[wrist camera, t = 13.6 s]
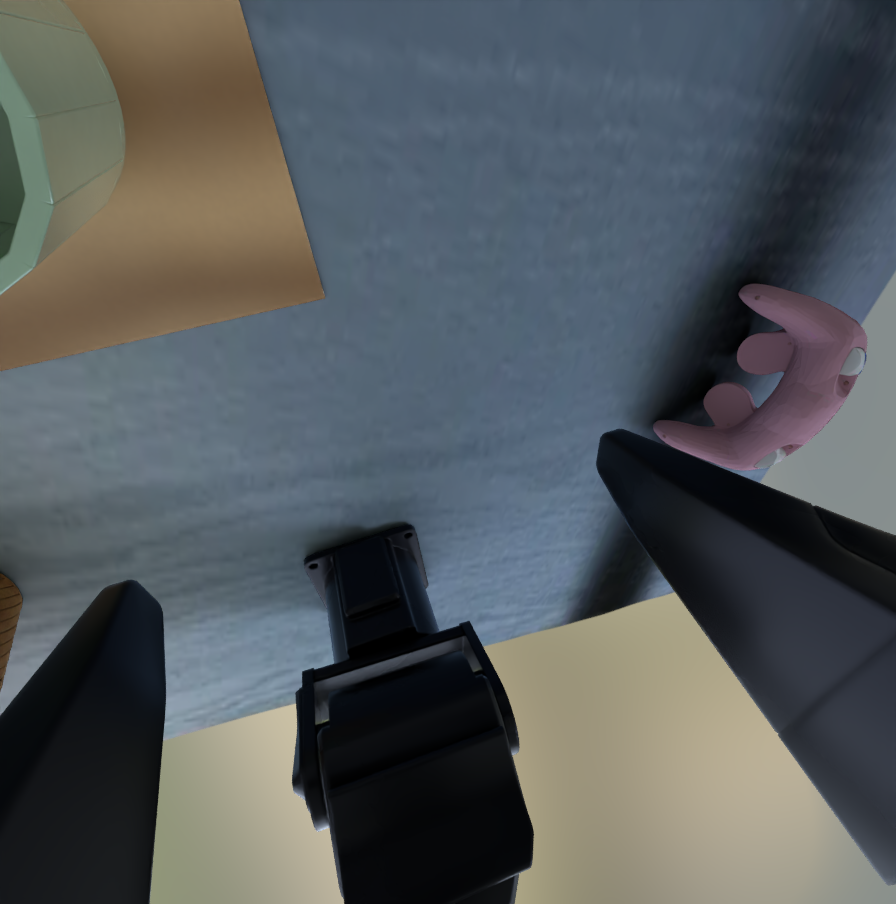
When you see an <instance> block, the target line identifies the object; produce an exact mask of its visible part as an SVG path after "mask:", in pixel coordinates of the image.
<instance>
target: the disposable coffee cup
mask: <svg viewBox="0 0 896 904" xmlns="http://www.w3.org/2000/svg"><path fill="white" fill-rule="evenodd" d="M22 601H23V598H22V596H21V594H20V591H19V589H18V588H17V587H16V586H15V584H14V583H13V582H12V581H11V580H10V579H8V578H7V577H6V576H4V575H3V574H1V573H0V690H1V688H2V685H3V679H4V675H5V672H6V667H7V662H8V660H9V655H10V650H11V647H12V643H13V638H14V634H15V631H16V627H17V622H18V619H19V615H20V611H21V608H22Z"/></svg>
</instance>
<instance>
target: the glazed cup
mask: <svg viewBox="0 0 896 904" xmlns="http://www.w3.org/2000/svg"><path fill="white" fill-rule="evenodd" d="M125 149H126V144H125V127H124V121H123V115H122V110H121V106H120V103H119V100H118V96H117V93H116V89H115V87H114V84H113V82H112V80H111V77H110V75H109V72H108V70H107V67H106V66H105V64H104V62H103V60H102V58H101V56H100V54H99V52H98V50H97V48H96V46H95V45H94V43H93V42H92V40H91V38H90V37H89V35H88V34H87V32H86V31H85V29H84V27H83V26H82V24H81V23H80V21H79V20H78V19H77V18H76V16H75V15H74V14H73V12H72V11H71V10H70V8H69V7H68V6H67V4H66V3H65V2H64V0H0V295H1V294H3V293H4V292H5V291H7V290H8V289H9V288H10V287H12V286H13V285H14V284H15V283H17V282H18V281H19V280H21V279H22V278H23V277H24V276H26V275H27V274H28V273H30V272H31V271H32V270H33V269H34V268H36V267H37V266H38V265H39V264H40V263H41V262H42V261H43V260H45V259H46V258H47V257H48V256H49V255H50V254H51V253H52V252H54V251H55V250H56V249H57V248H58V247H59V246H60V245H61V244H63V243H64V242H65V241H66V240H67V239H68V238H69V237H70V236H72V235H73V234H74V233H75V232H76V231H77V230H78V229H79V228H81V227H82V226H83V225H84V224H85V223H86V222H87V221H88V220H90V219H91V218H92V217H93V216H94V215H95V214H96V213H98V212H99V211H100V210H101V209H102V208H103V207H104V206H105V205H106V204H107V203H108V201H109V198H110V196H111V195H112V193H113V192H114V190H115V188H116V186H117V184H118V182H119V180H120V176H121V173H122V169H123V165H124V158H125Z"/></svg>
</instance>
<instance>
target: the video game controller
mask: <svg viewBox="0 0 896 904" xmlns="http://www.w3.org/2000/svg"><path fill="white" fill-rule="evenodd" d="M739 297H740V298H741V299H742V300H743V302H744V303H745V304H746V305H748V306H749V307H750V308H751V309H753V310H754V311H755V312H757V313H758V314H760V315H762V316H764V317H766V318H768V319H770V320H771V321H773V322H775V323H777V324H779V325H781V326H782V327H783V328H784V329H782V330H779V331H776V332H762V333H757V334H754V335H752V336H750V337H748V338H747V339H745V340H744V341H743V342H742V344H741V345H740V347H739V349H738V352H737V361H738V364H739V365H740V367H741V368H742V369H743V370H745V371H747V372H748V373H752V374H758V375H766V374H772V373H776V372H779V371H783V372H784V375H783V377H782V379H781V380H780V382H779V384H778V386H777V387H776V388H775V390H774V391H773V392H772V394H771V395H770V396H769V397H768V399H767V400H766V401H765V402H764V403H763V404H762V405H761V406H760V407H759V408H757V407H756V406H755V405H754V402H753V399H752V396H751V394H750V393H749V391H748V390H747V389H746V388H745V387H743V386H742V385H740V384H737V383H734V382H724V383H720V384H718V385H716V386H714V387H713V388H711V389H710V390H709V391H708V392H707V394H706V396H705V398H704V407H705V409H706V411H707V413H708V414H709V416H710V417H711V418H712V420H713V422H714V424H715V425H714V426H711V427H699V426H695V425H691V424H687V423H683V422H679V421H671V420H661V421H660V420H658V421H656V422H655V423H654V425H653V429H654V431H655V433H656V434H657V435H658V436H659V437H660V438H661V439H662V440H663V441H664V442H666V443H667V444H669V445H670V446H672V447H674V448H676V449H679V450H681V451H684V452H686V453H688V454H691V455H693V456H696V457H699V458H702V459H704V460H707V461H710V462H713V463H715V464H718V465H721V466H724V467H727V468H731V469H736V470H754V469H760V468H768V467H770V466H772V465H774V464H776V463H778V462H780V461H782V460H783V459H784V458H785V457H786V456H788V455H789V454H791V453H793V452H794V451H795V450H797V449H799V448H800V447H801V446H803V445H804V444H806V443H807V442H808V441H809V440H810V439H811V438H813V436H815V435H816V434H817V433H818V432H819V431H820V430H821V429H822V428H823V427H824V426H825V425H826V424H827V423H828V422H829V421H830V420H831V419H832V417H833V416H834V415H835V414H836V413H837V411H838V410H839V409H840V407H841V405H842V404H843V403H844V401H845V400H846V398H847V397H848V395H849V393H850V391H851V389H852V388H853V386H854V384H855V381H856V379H857V377H858V375H859V374H860V373H861V371H862V369H863V367H864V365H865V363H866V349H867V336H866V333H865V331H864V329H863V328H862V327H861V326H860V324H859V323H858V322H857V321H856V320H854V319H853V318H851V317H850V316H848V315H847V314H845V313H844V312H842V311H841V310H839V309H837V308H835V307H833V306H831V305H830V304H827V303H825V302H823V301H820V300H818V299H816V298H813V297H810V296H806V295H803V294H800V293H796V292H792V291H789V290H785V289H781V288H777V287H774V286H769V285H764V284H749V285H745V286H744V287H742V289H741V290H740V291H739Z"/></svg>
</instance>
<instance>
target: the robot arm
mask: <svg viewBox="0 0 896 904" xmlns="http://www.w3.org/2000/svg"><path fill="white" fill-rule="evenodd" d="M596 466H597V470H598V473H599V475H600V477H601V478H602V480H603V482H604V484H605V485H606V487H607V489H608V491H609V492H610V494H611V496H612V498H613V500H614V501H615V503H616V505H617V507H618V508H619V510H620V512H621V514H622V515H623V517H624V519H625V521H626V523H627V524H628V526H629V527H630V529H631V531H632V532H633V534H634V535H635V537H636V538H637V540H638V541H639V543H640V544H641V545H642V547H643V548H644V550H645V551H646V552H647V554H648V555H649V557H650V558H651V559H652V561H653V562H654V563H655V565H656V566H657V568H658V569H659V570H660V572H661V573H662V575H663V576H664V577H665V579H666V580H667V581H668V583H669V584H670V586H671V587H672V588H673V590H674V591H675V593H676V594H677V595H678V597H679V598H680V599H681V601H682V602H683V603H684V605H685V606H686V608H687V609H688V611H689V612H690V613H691V615H692V616H693V617H694V619H695V620H696V622H697V623H698V625H699V626H700V627H701V629H702V630H703V631H704V632H705V634H706V636H707V637H708V638H709V640H710V641H711V643H712V644H713V645H714V647H715V648H716V649H717V651H718V652H719V654H720V655H721V656H722V658H723V659H724V661H725V662H726V663H727V665H728V666H729V668H730V669H731V670H732V671H733V673H734V674H735V676H736V677H737V679H738V680H739V681H740V683H741V684H742V686H743V687H744V688H745V689H746V691H747V693H748V694H749V695H750V697H751V698H752V699H753V701H754V702H755V703H756V705H757V706H758V708H759V709H760V711H761V712H762V713H763V714H764V716H765V717H766V719H767V720H768V722H769V723H770V724H771V726H772V727H773V729H774V730H775V731H776V732H777V733H778V736H779V737H780V738H781V740H782V741H783V743H784V744H785V746H786V747H787V748H788V750H789V751H790V753H791V754H792V755H793V757H794V758H795V760H796V761H797V762H798V764H799V765H800V767H801V768H802V769H803V771H804V772H805V774H806V775H807V776H808V778H809V779H810V780H811V782H812V783H813V785H814V786H815V787H816V789H817V790H818V792H819V793H820V794H821V796H822V797H823V798H824V799H825V801H826V803H827V804H828V805H829V807H830V808H831V810H832V811H833V812H834V814H835V815H836V817H837V818H838V819H839V820H840V822H841V823H842V825H843V826H844V828H845V829H846V830H847V832H848V833H849V835H850V836H851V837H852V839H853V840H854V841H855V843H856V844H857V846H858V847H859V848H860V850H861V851H862V852H863V854H864V855H865V857H866V858H867V859H868V861H869V862H870V864H871V865H872V866H873V868H874V869H875V870H876V872H877V873H878V874H879V876H880V877H881V878H882V879H883V880H884V882H885V883H886V884H887V885H894V884H896V535H893V534H890V533H887V532H884V531H882V530H878V529H876V528H873V527H871V526H868V525H865V524H863V523H860V522H857V521H855V520H852V519H850V518H846V517H844V516H842V515H839V514H836V513H834V512H831V511H829V510H826V509H824V508H821V507H819V506H812V505H811V503H808V502H806V501H803V500H801V499H798V498H795V497H793V496H791V495H788V494H786V493H783V492H781V491H778V490H776V489H773V488H771V487H768V486H766V485H763V484H761V483H758V482H756V481H753V480H751V479H748V478H746V477H743V476H740V475H738V474H735V473H733V472H730V471H728V470H725V469H723V468H720V467H718V466H715V465H713V464H710V463H708V462H705V461H703V460H700V459H698V458H695V457H693V456H690V455H688V454H685V453H683V452H680V451H678V450H675V449H672V448H670V447H667V446H665V445H662V444H660V443H657V442H655V441H652V440H650V439H647V438H645V437H642V436H640V435H637V434H635V433H632V432H630V431H627V430H624V429H616V430H613V431H610V432H607V433H604V434H603V435H602V436H601V438H600V443H599V449H598V455H597V461H596ZM304 566H305V570H306V572H307V574H308V575H309V577H310V579H311V581H312V583H313V585H314V586H315V588H316V590H317V592H318V594H319V596H320V597H321V599H322V601H323V603H324V605H325V606H326V608H327V612H328V620H329V627H330V634H331V642H332V649H333V657H334V664H332V665H328V666H325V667H322V668H318V669H315V670H314V668H312V669H309V670H305V671H303V672H302V687H301V688H299V690H298V691H297V692H296V709H297V738H296V747H295V756H294V766H293V775H292V785H293V791H294V793H296V794H297V795H298V796H300V797H301V798H303V799H304V800H305V801H306V805H307V808H308V811H309V812H310V813H311V818H312V821H313V824H314V827H315V829H316V831H321V830H324V829H326V828H329V827H330V834H331V840H332V846H333V852H334V858H335V865H336V870H337V877H338V883H339V888H340V892H341V895H342V897H343V899H344V904H514V903H515V897H516V890H517V884H518V878H519V873H521V872H523V871H525V870H528V869H530V868H531V865H532V859H533V838H534V837H533V836H534V832H533V827H532V823H531V820H530V818H529V815H528V811H527V808H526V805H525V801H524V798H523V794H522V790H521V787H520V783H519V780H518V775H517V772H516V768H515V765H514V760H513V757H512V755H515V754H517V753H518V752H519V737H518V731H517V726H516V722H515V718H514V715H513V712H512V708H511V705H510V702H509V699H508V697H507V694H506V692H505V689H504V687H503V685H502V683H501V681H500V678H499V677H498V675H497V673H496V671H495V669H494V667H493V665H492V663H491V661H490V659H489V657H488V656H487V654H486V652H485V650H484V648H483V646H482V644H481V642H480V640H479V638H478V636H477V635H476V633H475V631H474V629H473V627H472V625H471V623H470V621H467V622H463V623H460V624H459V626H456V627H453V628H450V629H446V630H443V631H440V632H439V629H438V626H437V623H436V620H435V616H434V613H433V610H432V607H431V604H430V601H429V598H428V595H427V592H426V588H427V587H428V581H427V576H426V572H425V568H424V564H423V560H422V555H421V551H420V547H419V543H418V538H417V534H416V531H415V528H414V526H412V525H404V526H401V527H397V528H394V529H391V530H388V531H385V532H382V533H379V534H376V535H372V536H369V537H366V538H363V539H360V540H357V541H354V542H351V543H347V544H344V545H341V546H338V547H335V548H332V549H329V550H326V551H323V552H319V553H316V554H313V555H310V556H308V557H307V558H305V560H304ZM165 706H166V675H165V650H164V624H163V612H162V608H161V606H160V604H159V603H158V601H157V600H156V599H155V598H154V597H153V596H151V595H150V594H149V593H148V592H147V591H146V590H145V589H144V588H143V587H142V586H141V585H140V584H139V583H138V582H137V581H135V580H126V581H123V582H120V583H116V584H113V585H110V586H108V587H106V588H104V589H103V590H102V591H101V592H100V593H99V595H98V596H97V597H96V598H95V600H94V601H93V602H92V603H91V605H90V606H89V607H88V608H87V609H86V611H85V612H84V613H83V614H82V616H81V617H80V618H79V619H78V621H77V622H76V623H75V624H74V625H73V627H72V628H71V629H70V630H69V632H68V633H67V634H66V635H65V637H64V638H63V639H62V640H61V642H60V643H59V644H58V645H57V646H56V648H55V649H54V650H53V651H52V653H51V654H50V655H49V656H48V658H47V659H46V660H45V661H44V662H43V664H42V665H41V666H40V667H39V669H38V670H37V671H36V672H35V674H34V675H33V676H32V677H31V679H30V680H29V681H28V682H27V683H26V685H25V686H24V687H23V688H22V690H21V691H20V692H19V693H18V695H17V696H16V697H15V698H14V699H13V701H12V702H11V703H10V704H9V706H8V707H7V708H6V709H5V711H4V712H3V713H2V714H1V716H0V904H149V903H150V891H151V878H152V867H153V854H154V842H155V830H156V818H157V805H158V794H159V781H160V769H161V757H162V745H163V733H164V721H165Z"/></svg>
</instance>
